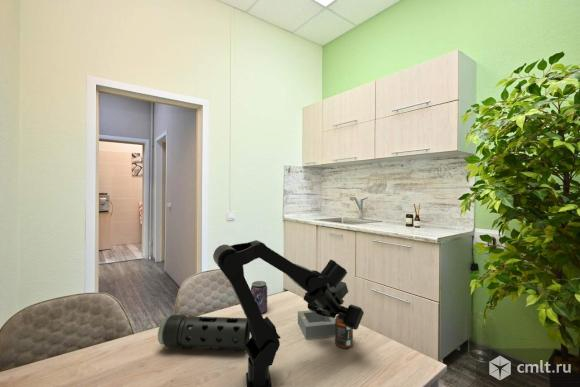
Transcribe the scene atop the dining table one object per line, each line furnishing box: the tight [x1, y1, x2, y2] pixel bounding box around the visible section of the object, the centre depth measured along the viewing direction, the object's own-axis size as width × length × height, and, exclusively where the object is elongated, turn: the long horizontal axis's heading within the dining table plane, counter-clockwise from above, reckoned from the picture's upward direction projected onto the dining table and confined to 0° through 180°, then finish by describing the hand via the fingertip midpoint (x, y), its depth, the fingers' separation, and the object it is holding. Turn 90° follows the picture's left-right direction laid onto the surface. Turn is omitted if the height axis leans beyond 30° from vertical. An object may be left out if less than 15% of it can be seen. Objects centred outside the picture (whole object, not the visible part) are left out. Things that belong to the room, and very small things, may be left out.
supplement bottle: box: [334, 313, 354, 349], centre depth 90 cm, size 6×6×11 cm
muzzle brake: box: [157, 314, 251, 351], centre depth 88 cm, size 10×28×10 cm, turn 87°
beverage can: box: [250, 280, 268, 314], centre depth 114 cm, size 7×7×12 cm
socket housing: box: [297, 309, 335, 340], centre depth 100 cm, size 12×12×5 cm
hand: (344, 320), depth 90 cm, fingers open, 9 cm apart
